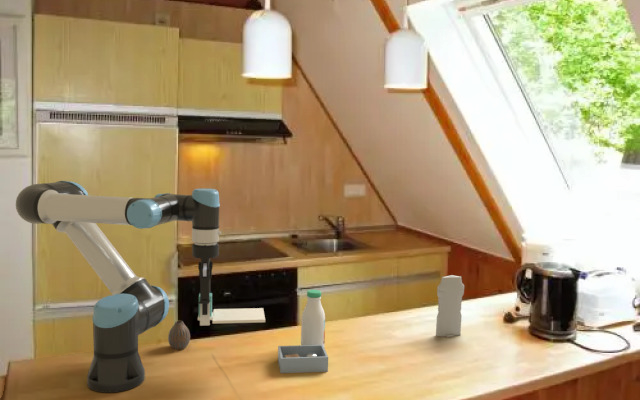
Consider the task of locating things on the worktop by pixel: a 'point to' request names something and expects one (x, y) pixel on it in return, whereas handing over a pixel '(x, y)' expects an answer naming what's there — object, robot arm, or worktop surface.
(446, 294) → the tall pale column
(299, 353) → the tub
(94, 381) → the robot arm
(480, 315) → the worktop surface
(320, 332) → the milk bottle
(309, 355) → the metal part
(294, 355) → the walnut part
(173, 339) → the vase
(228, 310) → the lid
